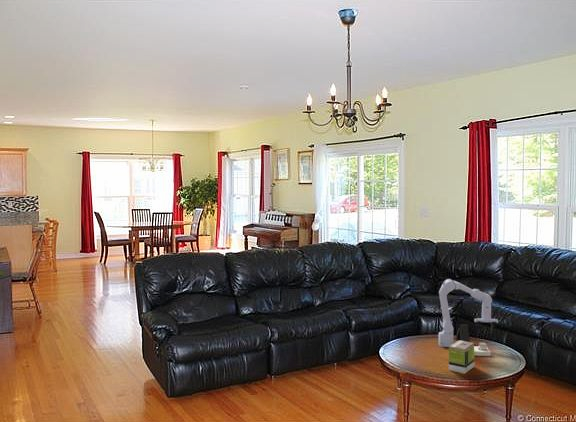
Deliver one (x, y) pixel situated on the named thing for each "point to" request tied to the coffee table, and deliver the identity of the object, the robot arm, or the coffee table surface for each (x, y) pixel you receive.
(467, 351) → the tea box
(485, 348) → the aluminium peg
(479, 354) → the socket board
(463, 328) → the door stopper
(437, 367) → the coffee table surface
